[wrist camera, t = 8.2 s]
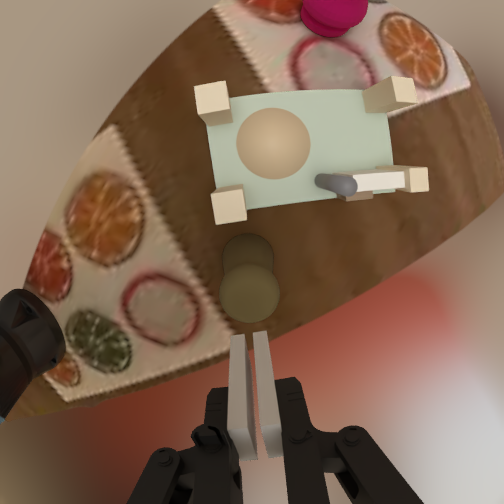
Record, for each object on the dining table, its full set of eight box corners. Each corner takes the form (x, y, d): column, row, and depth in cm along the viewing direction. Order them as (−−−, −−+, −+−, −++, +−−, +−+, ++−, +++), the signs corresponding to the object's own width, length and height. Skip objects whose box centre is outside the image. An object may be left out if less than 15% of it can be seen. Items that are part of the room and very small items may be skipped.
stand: (222, 210, 31) (212, 231, 21) (205, 106, 27) (188, 80, 18) (387, 190, 30) (435, 201, 21) (374, 94, 27) (419, 74, 17)
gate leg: (333, 189, 28) (359, 197, 22) (331, 169, 28) (356, 171, 21) (393, 184, 28) (428, 190, 22) (392, 165, 28) (427, 167, 21)
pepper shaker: (236, 224, 31) (232, 254, 21) (283, 247, 32) (301, 287, 22) (213, 269, 33) (200, 316, 22) (259, 290, 34) (265, 343, 23)
